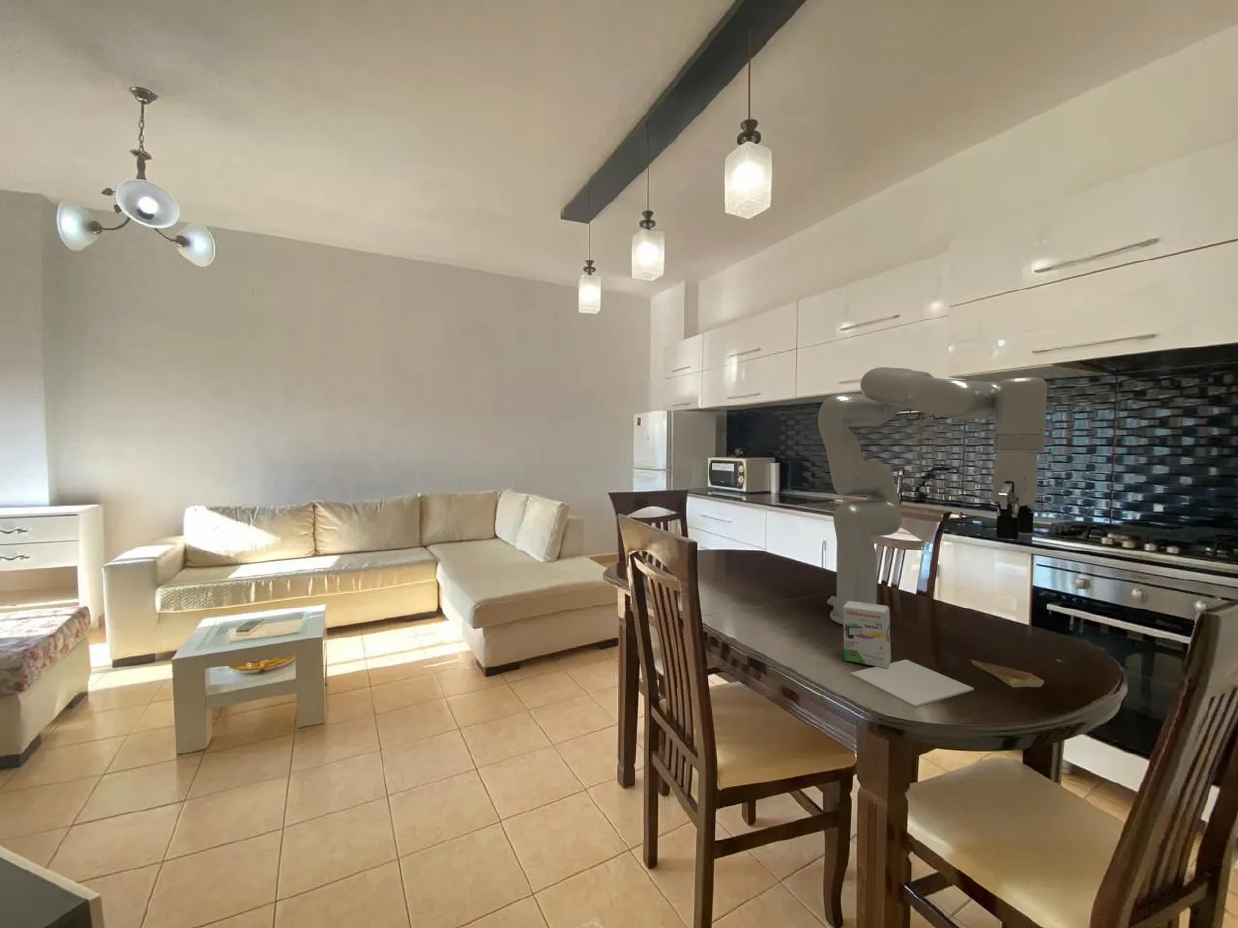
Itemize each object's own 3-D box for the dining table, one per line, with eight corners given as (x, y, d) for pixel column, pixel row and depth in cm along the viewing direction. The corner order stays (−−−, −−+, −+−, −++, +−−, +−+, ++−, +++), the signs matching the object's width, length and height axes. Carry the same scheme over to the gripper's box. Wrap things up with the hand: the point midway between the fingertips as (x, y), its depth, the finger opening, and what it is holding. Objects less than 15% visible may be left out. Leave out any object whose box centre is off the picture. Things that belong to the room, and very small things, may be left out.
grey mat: (850, 674, 103) (850, 672, 103) (906, 661, 109) (906, 659, 109) (915, 707, 90) (915, 705, 90) (973, 690, 96) (973, 688, 96)
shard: (969, 665, 108) (969, 657, 108) (1005, 665, 108) (1005, 657, 108) (1010, 689, 97) (1010, 680, 97) (1049, 689, 97) (1049, 680, 97)
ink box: (843, 660, 109) (841, 605, 109) (848, 653, 113) (846, 600, 113) (887, 668, 104) (886, 611, 104) (891, 661, 108) (889, 605, 108)
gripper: (1007, 444, 104) (1004, 527, 104) (979, 444, 93) (976, 537, 94) (1055, 444, 98) (1051, 533, 99) (1031, 445, 87) (1027, 544, 88)
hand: (1014, 535), depth 96 cm, fingers open, 9 cm apart
